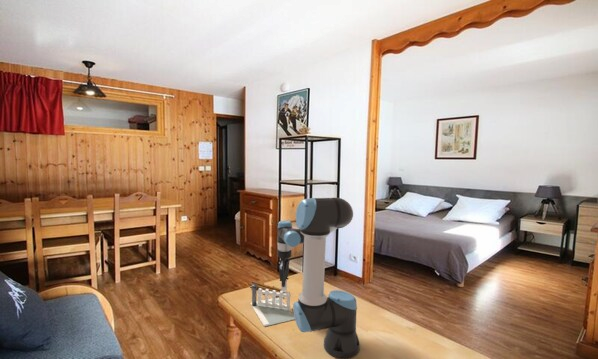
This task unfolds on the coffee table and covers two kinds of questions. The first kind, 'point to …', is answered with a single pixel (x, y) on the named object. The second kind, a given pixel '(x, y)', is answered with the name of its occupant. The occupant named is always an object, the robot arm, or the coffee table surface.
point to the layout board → (272, 314)
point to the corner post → (254, 294)
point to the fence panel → (273, 298)
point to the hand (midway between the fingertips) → (283, 291)
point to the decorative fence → (265, 287)
